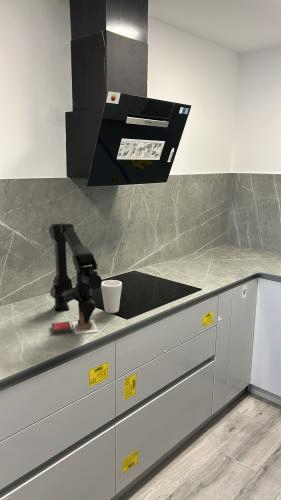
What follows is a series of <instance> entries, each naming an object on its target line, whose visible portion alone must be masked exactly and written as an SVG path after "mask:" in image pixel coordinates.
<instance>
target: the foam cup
mask: <svg viewBox="0 0 281 500" xmlns="http://www.w3.org/2000/svg"><path fill="white" fill-rule="evenodd" d="M100 288H101V293H102V299H103V300H102V301H103V307H104V311H105V313H107V314H108V313H109V314H115V313H118V312H119V310H120V303H121V302H120V301H121V294H122V289H123V283H122V281H120V280H116V279H115V280H113V279H109V280H102V284H101V286H100Z"/></svg>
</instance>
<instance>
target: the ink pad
mask: <svg viewBox="0 0 281 500" xmlns="http://www.w3.org/2000/svg"><path fill="white" fill-rule="evenodd" d="M51 329H52V336H54V335H63V334H64V335H65V334H71V333H72V328H71V324H70V321H60V322H59V321H58V322H51Z"/></svg>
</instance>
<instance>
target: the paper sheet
mask: <svg viewBox="0 0 281 500" xmlns="http://www.w3.org/2000/svg"><path fill="white" fill-rule="evenodd" d="M90 321H91V324H92V328H91V329H81V330H79V327H78V320H77V321H72V322H71V323H72V328H73V331H74V334H75V335H76V336H77V335H85V334H93V333H94V332H95V333H98V332H99V330H98V328H97V325H96V323H95V320H94V319H90ZM95 333H94V334H95Z"/></svg>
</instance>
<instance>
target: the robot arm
mask: <svg viewBox="0 0 281 500" xmlns="http://www.w3.org/2000/svg"><path fill="white" fill-rule="evenodd" d="M48 233H49V236H50V240H52V242H53V244H54V254H55V255H54V256H55V271H56V273H55V274H56V275H55V276H54V279H53V280H52V285H51V286H52V287H51V288H50V290H49V294H50V297H52V298H53V299H54V305H53V308H54V309H53V310H54V312H58V311H59V312H61V311H69V310H70V306H69V304H68V303H70V302H72V301H74V300H75V301H77V305H78V307H77V308H78V312H79V311H80V312H82V313H83V317H84V322H85V323H88V321H89V319H90V320H91V317H92V315H93V312H94V311H95V310H96V303H95V301H94V300H93V299H92V298H93V295H92V290H97V289H100V288H101V284H102V282H103V280H102V277H101V276H100V275H99V274H98V272H97V271H98V264H97V261H96V259H95V256H94V254H93V253H92V252H91V250H90V249H89V247H86V246H85V245H84V244H83V243H82V242H81V239H80V237H79V236H78V234H77V232H76V230H75V228H74V224H72V223H66V222H61V223H52V224H51V225H50V226H49V227H48ZM66 244H68V246H69V248H70V250H71V252H72V256H71V258H72V264H74V270H76V272H75V273H76V276H75V277H76V278H75V279H76V283H75V286H73V283H72V279H71V278H70V277H69V275H68V266H67V265H68V264H67V245H66ZM96 270H97V271H96Z"/></svg>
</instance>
